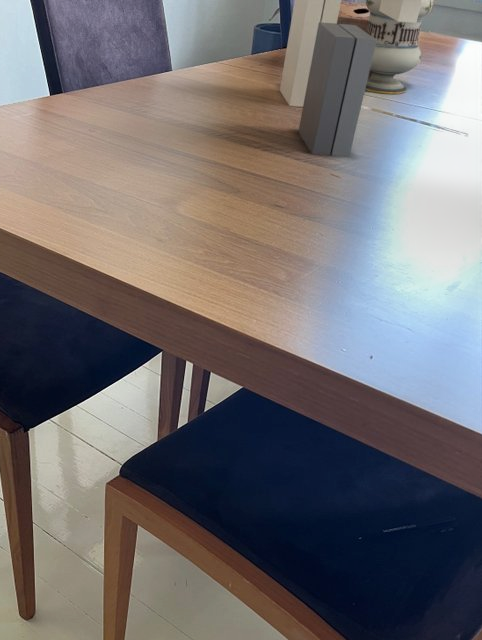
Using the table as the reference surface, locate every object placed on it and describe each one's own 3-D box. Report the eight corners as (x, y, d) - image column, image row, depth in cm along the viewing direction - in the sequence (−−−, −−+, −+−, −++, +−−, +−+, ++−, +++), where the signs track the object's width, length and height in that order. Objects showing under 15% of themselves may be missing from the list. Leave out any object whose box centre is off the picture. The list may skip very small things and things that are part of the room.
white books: (307, 92, 132) (328, -18, 122) (319, 108, 124) (343, -10, 113) (279, 90, 132) (298, -21, 122) (289, 106, 124) (310, -12, 113)
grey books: (331, 139, 109) (356, 25, 100) (348, 163, 100) (376, 39, 91) (297, 137, 109) (318, 22, 99) (310, 160, 100) (335, 36, 91)
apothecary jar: (335, 80, 142) (358, -29, 131) (386, 79, 146) (412, -27, 135) (372, 96, 134) (400, -20, 122) (424, 95, 138) (456, -18, 126)
